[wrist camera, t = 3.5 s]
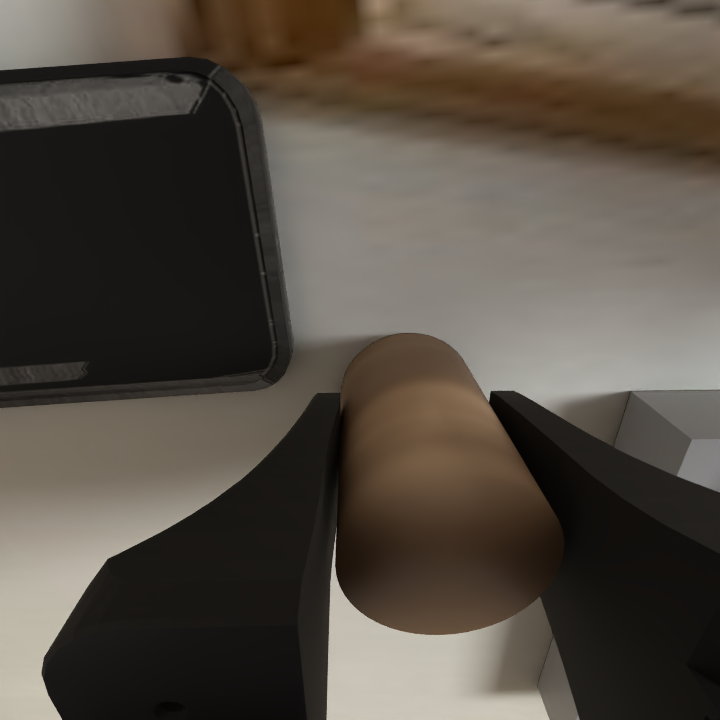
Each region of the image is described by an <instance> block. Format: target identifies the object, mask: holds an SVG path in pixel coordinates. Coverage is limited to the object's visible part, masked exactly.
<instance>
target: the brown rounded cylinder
mask: <svg viewBox="0 0 720 720" xmlns="http://www.w3.org/2000/svg"><path fill="white" fill-rule="evenodd" d="M563 553H564V536H563V530H562V528H561V525H560V522H559V520H558V518H557V516H556V515H555V513H554V511H553V510H552V508H551V506H550V505H549V503H548V501H547V500H546V498H545V496H544V495H543V493H542V491H541V489H540V488H539V486H538V484H537V483H536V481H535V479H534V478H533V476H532V474H531V473H530V471H529V469H528V468H527V466H526V464H525V463H524V461H523V459H522V458H521V456H520V454H519V453H518V451H517V449H516V448H515V446H514V444H513V442H512V441H511V439H510V437H509V436H508V434H507V432H506V431H505V429H504V427H503V426H502V424H501V422H500V421H499V419H498V417H497V416H496V414H495V412H494V411H493V409H492V407H491V406H490V404H489V402H488V400H487V399H486V397H485V395H484V394H483V392H482V390H481V389H480V387H479V385H478V384H477V382H476V380H475V379H474V377H473V375H472V374H471V372H470V370H469V369H468V367H467V365H466V364H465V362H464V360H463V359H462V357H461V356H460V355H459V354H458V353H457V351H456V350H454V349H453V348H452V347H451V346H450V345H448V344H447V343H445V342H443V341H441V340H439V339H437V338H435V337H432V336H428V335H424V334H417V333H404V334H397V335H391V336H388V337H385V338H382V339H380V340H378V341H376V342H374V343H372V344H371V345H369V346H367V347H366V348H365V349H364V350H362V351H361V352H360V353H359V354H358V355H357V356H356V357H355V358H354V360H353V361H352V362H351V364H350V365H349V367H348V369H347V371H346V373H345V376H344V378H343V382H342V387H341V423H340V445H339V472H338V502H337V532H336V562H335V567H336V575H337V579H338V582H339V585H340V587H341V589H342V591H343V593H344V595H345V596H346V597H347V599H348V600H349V601H350V603H351V604H352V605H353V606H354V607H355V608H357V609H358V610H359V611H360V612H361V613H363V614H364V615H365V616H367V617H368V618H370V619H372V620H374V621H376V622H378V623H380V624H382V625H385V626H387V627H390V628H393V629H396V630H400V631H404V632H409V633H415V634H425V635H445V634H456V633H463V632H469V631H473V630H477V629H481V628H484V627H487V626H491V625H493V624H496V623H498V622H501V621H503V620H505V619H507V618H509V617H511V616H513V615H515V614H517V613H518V612H520V611H521V610H523V609H524V608H526V607H527V606H529V605H530V604H531V603H532V602H534V601H535V600H536V599H537V598H538V597H539V596H540V595H541V594H542V593H543V592H544V591H545V590H546V589H547V587H548V586H549V585H550V584H551V582H552V581H553V579H554V577H555V576H556V574H557V572H558V570H559V568H560V565H561V562H562V558H563Z"/></svg>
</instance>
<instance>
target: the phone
mask: <svg viewBox="0 0 720 720" xmlns="http://www.w3.org/2000/svg"><path fill="white" fill-rule="evenodd" d="M289 324H290V325H289ZM292 352H293V334H292V327H291V320H290V313H289V306H288V299H287V292H286V285H285V278H284V271H283V264H282V257H281V250H280V243H279V236H278V229H277V222H276V215H275V208H274V201H273V194H272V187H271V180H270V173H269V166H268V159H267V152H266V145H265V138H264V131H263V124H262V120H261V116H260V113H259V109H258V106H257V103H256V102H255V100H254V98H253V97H252V95H251V93H250V92H249V90H248V88H247V87H246V86H245V85H244V84H243V83H242V82H241V81H239V80H238V79H237V78H236V77H235V76H234V75H233V74H232V73H230V72H229V71H228V70H227V69H225V68H224V67H222V66H220V65H218V64H216V63H214V62H212V61H210V60H208V59H202V58H194V57H180V58H167V59H153V60H139V61H125V62H111V63H97V64H83V65H70V66H56V67H42V68H28V69H14V70H0V408H4V407H19V406H34V405H49V404H64V403H78V402H93V401H108V400H123V399H138V398H152V397H167V396H182V395H197V394H212V393H227V392H241V391H255V390H260V389H264V388H268V387H269V386H271V385H273V384H275V383H276V382H278V381H279V380H280V378H281V377H282V376H283V375H284V374H285V372H286V370H287V367H288V365H289V362H290V359H291V356H292Z"/></svg>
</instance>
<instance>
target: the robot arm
mask: <svg viewBox="0 0 720 720" xmlns="http://www.w3.org/2000/svg"><path fill="white" fill-rule="evenodd" d="M489 404H490V406H491V407H492V409H493V411H494V412H495V414H496V416H497V417H498V419H499V421H500V422H501V424H502V426H503V427H504V429H505V431H506V432H507V434H508V436H509V437H510V439H511V441H512V442H513V444H514V446H515V448H516V449H517V451H518V453H519V454H520V456H521V458H522V459H523V461H524V463H525V464H526V466H527V468H528V469H529V471H530V473H531V474H532V476H533V478H534V479H535V481H536V483H537V484H538V486H539V488H540V489H541V491H542V493H543V495H544V496H545V498H546V500H547V501H548V503H549V505H550V506H551V508H552V510H553V511H554V513H555V515H556V516H557V518H558V520H559V522H560V525H561V528H562V530H563V536H564V553H563V558H562V562H561V565H560V568H559V570H558V572H557V574H556V576H555V577H554V579H553V581H552V582H551V584H550V585H549V586H548V587H547V589H546V590H545V591H544V592H543V593H542V594H541V595H540V597H541V600H542V603H543V606H544V609H545V611H546V614H547V617H548V620H549V623H550V626H551V629H552V632H553V635H554V638H555V642H556V645H557V648H558V651H559V654H560V657H561V660H562V663H563V666H564V669H565V673H566V676H567V679H568V683H569V686H570V689H571V693H572V696H573V699H574V703H575V706H576V709H577V713H578V716H579V719H580V720H720V492H717V491H715V490H712V489H709V488H707V487H704V486H701V485H699V484H696V483H693V482H691V481H688V480H685V479H683V478H680V477H678V476H675V475H673V474H671V473H668V472H666V471H663V470H661V469H659V468H657V467H654V466H652V465H650V464H648V463H646V462H643V461H641V460H639V459H637V458H634V457H632V456H630V455H628V454H626V453H624V452H622V451H620V450H618V449H616V448H614V447H612V446H610V445H608V444H607V443H605V442H603V441H601V440H599V439H597V438H595V437H593V436H592V435H590V434H588V433H586V432H584V431H583V430H581V429H579V428H577V427H576V426H574V425H572V424H570V423H569V422H567V421H565V420H564V419H562V418H560V417H559V416H557V415H555V414H554V413H552V412H550V411H549V410H547V409H545V408H544V407H542V406H540V405H539V404H537V403H535V402H534V401H532V400H530V399H528V398H527V397H525V396H523V395H521V394H519V393H517V392H515V391H491V394H490V400H489ZM340 423H341V406H340V393H317V394H316V395H315V396H314V397H313V399H312V400H311V402H310V404H309V405H308V407H307V408H306V410H305V411H304V412H303V414H302V415H301V417H300V418H299V419H298V421H297V422H296V423H295V424H294V426H293V427H292V428H291V430H290V431H289V432H288V433H287V435H286V436H285V437H284V438H283V439H282V440H281V441H280V442H279V444H278V445H277V446H276V447H275V448H274V449H273V450H272V451H271V452H270V453H269V454H268V455H267V456H266V457H265V458H264V459H263V460H262V461H261V462H260V463H259V464H258V465H257V466H256V467H255V468H254V469H253V470H252V471H251V472H249V473H248V474H247V475H246V476H245V477H244V478H243V479H241V480H240V481H239V482H237V483H236V484H235V485H233V486H232V487H231V488H229V489H228V490H227V491H225V492H224V493H223V494H221V495H220V496H219V497H217V498H216V499H214V500H213V501H212V502H210V503H209V504H207V505H206V506H204V507H202V508H201V509H199V510H198V511H196V512H195V513H193V514H192V515H190V516H188V517H187V518H185V519H183V520H181V521H180V522H178V523H176V524H175V525H173V526H171V527H170V528H168V529H166V530H164V531H162V532H161V533H159V534H157V535H155V536H153V537H151V538H149V539H147V540H145V541H143V542H141V543H139V544H137V545H135V546H133V547H131V548H129V549H127V550H125V551H123V552H121V553H119V554H117V555H115V556H113V557H111V558H109V559H107V561H106V562H105V564H104V565H103V567H102V568H101V569H100V571H99V572H98V573H97V575H96V576H95V577H94V579H93V580H92V582H91V583H90V584H89V586H88V587H87V589H86V590H85V592H84V594H83V595H82V597H81V598H80V600H79V602H78V603H77V605H76V606H75V608H74V610H73V611H72V613H71V615H70V616H69V618H68V619H67V621H66V623H65V624H64V626H63V628H62V629H61V631H60V632H59V634H58V636H57V637H56V639H55V641H54V642H53V644H52V645H51V647H50V649H49V650H48V652H47V653H46V655H45V657H44V661H43V667H42V677H43V680H44V683H45V686H46V689H47V692H48V695H49V697H50V699H51V700H52V702H53V704H54V706H55V707H56V709H57V711H58V713H59V714H60V716H61V718H62V720H326V714H327V675H328V639H329V607H330V580H331V568H332V558H333V550H334V542H335V534H336V526H337V502H338V472H339V445H340Z"/></svg>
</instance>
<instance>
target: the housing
mask: <svg viewBox="0 0 720 720" xmlns="http://www.w3.org/2000/svg"><path fill="white" fill-rule="evenodd" d="M614 448H616V449H618V450H620V451H622V452H624V453H626V454H628V455H630V456H632V457H634V458H637V459H639V460H641V461H643V462H646V463H648V464H650V465H652V466H654V467H657V468H659V469H661V470H663V471H666V472H668V473H671V474H673V475H675V476H678V477H680V478H683V479H685V480H688V481H691V482H693V483H696V484H699V485H701V486H704V487H707V488H709V489H712V490H715V491H717V492H720V390H704V391H631V394H630V397H629V400H628V403H627V406H626V409H625V413H624V416H623V419H622V422H621V425H620V428H619V431H618V435H617V438H616V441H615V444H614ZM538 689H539V692H540V694H541V697H542V700H543V703H544V705H545V708H546V711H547V714H548V716H549V719H550V720H580V719H579V716H578V713H577V709H576V706H575V703H574V699H573V696H572V693H571V689H570V686H569V683H568V679H567V676H566V673H565V669H564V666H563V663H562V660H561V657H560V654H559V651H558V648H557V645H556V642H555V638H554V635H553V639H552V642H551V645H550V648H549V651H548V654H547V657H546V661H545V664H544V667H543V670H542V673H541V676H540V679H539V683H538Z"/></svg>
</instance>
